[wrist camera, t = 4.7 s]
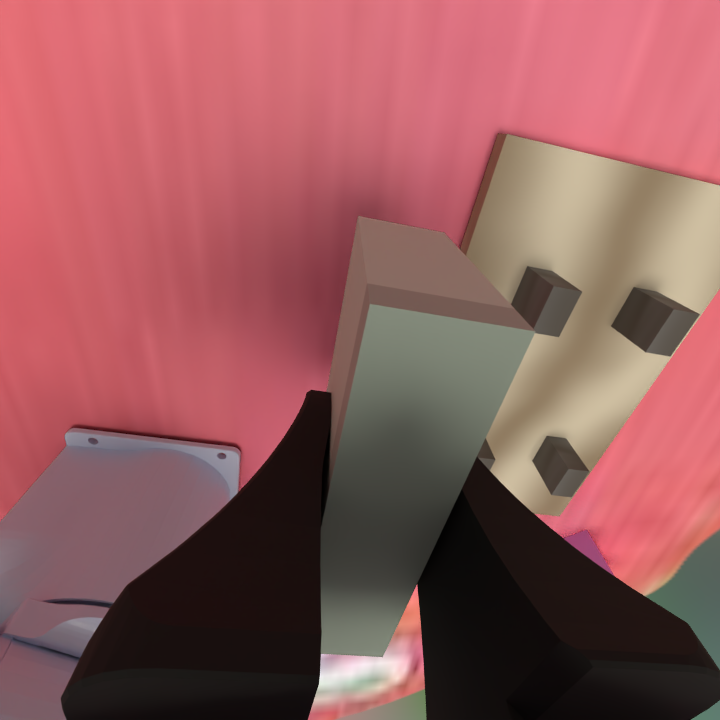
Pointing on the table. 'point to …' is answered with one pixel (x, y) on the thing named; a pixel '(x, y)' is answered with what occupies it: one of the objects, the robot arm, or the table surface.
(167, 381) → the table surface
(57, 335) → the table surface
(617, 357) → the beige board with pegs
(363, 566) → the door
